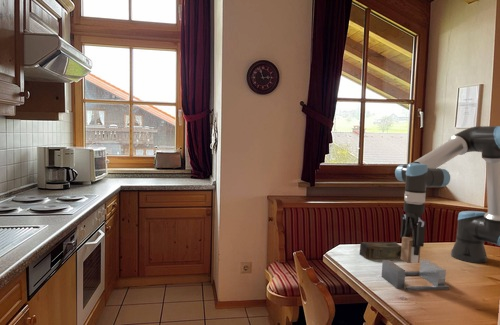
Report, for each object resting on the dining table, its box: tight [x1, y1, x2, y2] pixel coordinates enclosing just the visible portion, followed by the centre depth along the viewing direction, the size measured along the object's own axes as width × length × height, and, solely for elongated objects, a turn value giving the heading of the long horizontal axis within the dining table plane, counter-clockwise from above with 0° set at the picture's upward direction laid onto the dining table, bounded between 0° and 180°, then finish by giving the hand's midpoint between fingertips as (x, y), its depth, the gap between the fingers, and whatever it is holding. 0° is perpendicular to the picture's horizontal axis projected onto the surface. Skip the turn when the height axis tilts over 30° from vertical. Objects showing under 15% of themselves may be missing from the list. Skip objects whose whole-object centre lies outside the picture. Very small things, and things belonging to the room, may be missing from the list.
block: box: [400, 236, 422, 264], centre depth 150 cm, size 5×5×9 cm
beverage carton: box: [359, 241, 402, 260], centre depth 182 cm, size 8×19×7 cm, turn 99°
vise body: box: [381, 259, 451, 292], centre depth 151 cm, size 20×16×7 cm
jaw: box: [418, 258, 447, 286], centre depth 152 cm, size 3×12×7 cm, turn 8°
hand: (410, 259), depth 150 cm, fingers closed on block, 5 cm apart
